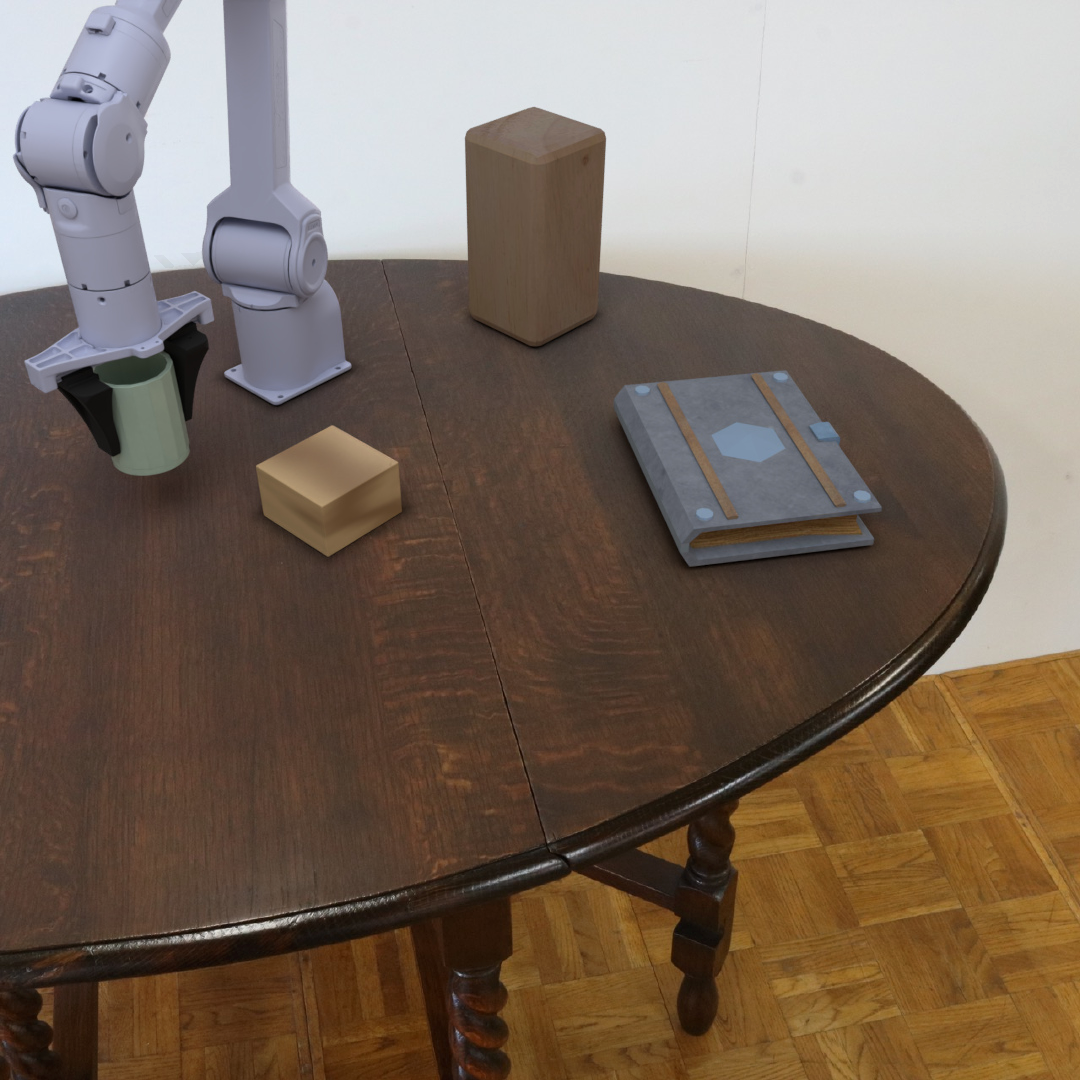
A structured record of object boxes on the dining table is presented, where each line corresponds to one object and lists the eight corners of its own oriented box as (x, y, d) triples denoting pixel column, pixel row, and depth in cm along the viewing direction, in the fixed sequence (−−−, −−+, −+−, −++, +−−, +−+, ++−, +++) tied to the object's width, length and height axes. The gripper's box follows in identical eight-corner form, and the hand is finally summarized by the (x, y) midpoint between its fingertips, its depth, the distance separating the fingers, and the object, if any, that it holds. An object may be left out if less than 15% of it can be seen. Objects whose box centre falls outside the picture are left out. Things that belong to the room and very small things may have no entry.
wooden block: (601, 318, 124) (611, 127, 111) (535, 353, 118) (538, 155, 105) (531, 287, 129) (533, 101, 116) (465, 319, 123) (460, 127, 111)
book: (612, 425, 108) (615, 377, 105) (783, 408, 111) (791, 361, 108) (678, 572, 92) (683, 521, 89) (876, 548, 95) (889, 498, 92)
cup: (161, 424, 97) (141, 338, 92) (205, 452, 94) (188, 365, 89) (96, 455, 94) (73, 367, 89) (140, 485, 91) (118, 396, 86)
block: (338, 473, 101) (332, 424, 98) (402, 511, 97) (399, 461, 94) (263, 515, 97) (255, 465, 94) (328, 557, 93) (321, 506, 90)
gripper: (46, 328, 78) (92, 494, 86) (226, 257, 86) (252, 414, 95) (-9, 294, 81) (40, 456, 90) (169, 229, 90) (199, 383, 99)
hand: (145, 432), depth 93 cm, fingers closed on cup, 6 cm apart
